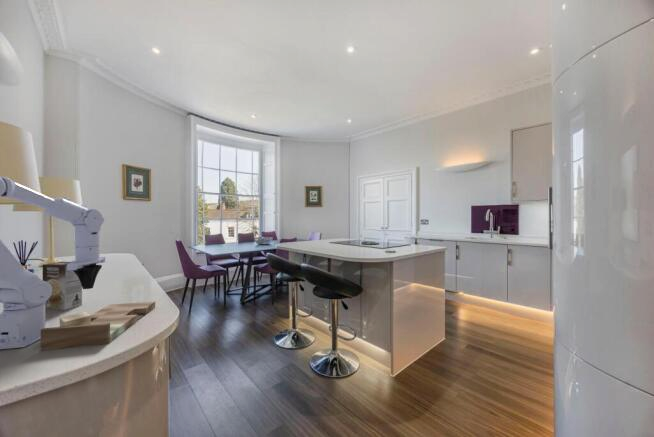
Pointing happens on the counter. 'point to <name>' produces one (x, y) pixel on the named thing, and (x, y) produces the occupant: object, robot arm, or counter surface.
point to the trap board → (96, 327)
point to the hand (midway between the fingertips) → (88, 288)
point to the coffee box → (62, 286)
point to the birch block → (75, 319)
